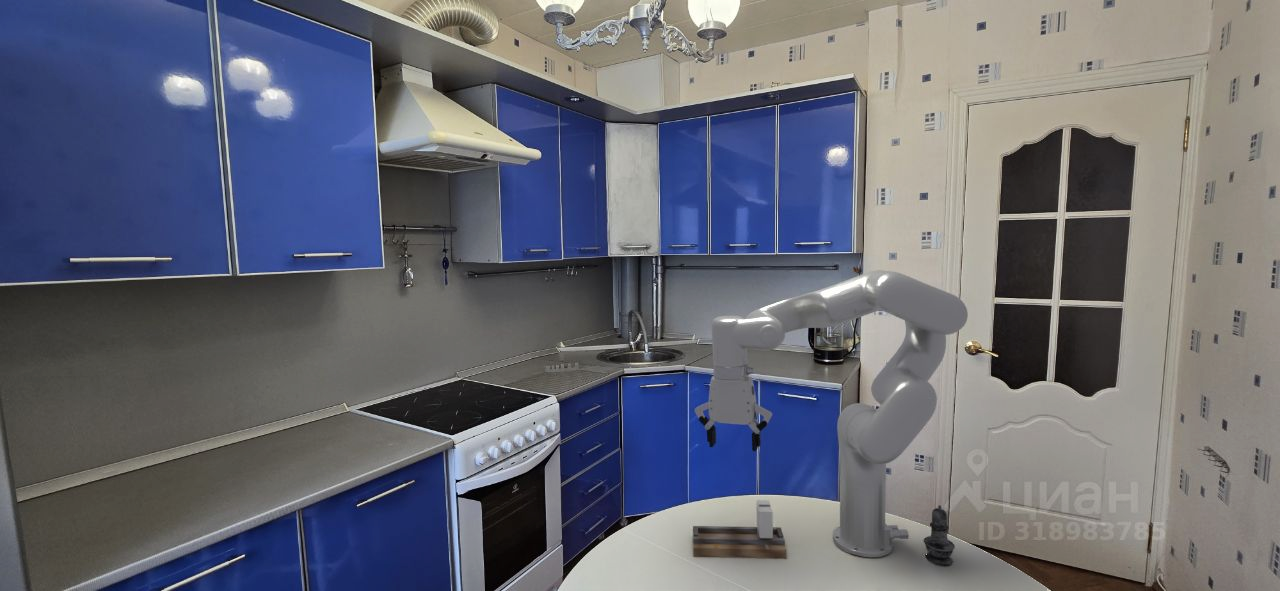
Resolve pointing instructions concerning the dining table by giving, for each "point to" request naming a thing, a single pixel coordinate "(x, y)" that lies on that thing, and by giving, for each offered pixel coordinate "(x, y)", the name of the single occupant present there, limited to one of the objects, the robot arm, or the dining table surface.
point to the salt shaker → (939, 540)
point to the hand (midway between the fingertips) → (733, 447)
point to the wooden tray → (737, 542)
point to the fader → (764, 519)
